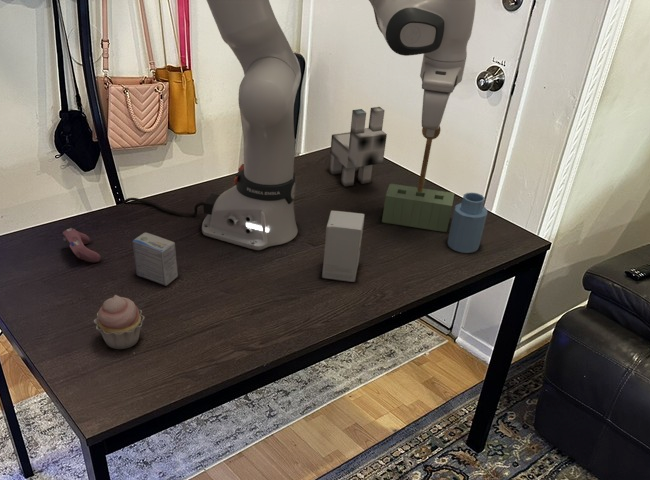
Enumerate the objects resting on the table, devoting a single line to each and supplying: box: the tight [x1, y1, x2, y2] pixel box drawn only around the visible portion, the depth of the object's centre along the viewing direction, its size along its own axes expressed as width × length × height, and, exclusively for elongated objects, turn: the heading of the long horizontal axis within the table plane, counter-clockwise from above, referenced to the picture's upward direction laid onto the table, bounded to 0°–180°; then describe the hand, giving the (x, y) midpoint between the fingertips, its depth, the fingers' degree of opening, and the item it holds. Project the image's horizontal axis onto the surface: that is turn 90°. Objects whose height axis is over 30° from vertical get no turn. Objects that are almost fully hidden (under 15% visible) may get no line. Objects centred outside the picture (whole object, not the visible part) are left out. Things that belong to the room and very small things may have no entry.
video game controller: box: [62, 227, 101, 263], centre depth 154 cm, size 10×5×7 cm, turn 27°
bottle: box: [447, 192, 489, 254], centre depth 159 cm, size 7×7×12 cm
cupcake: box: [93, 294, 145, 350], centre depth 130 cm, size 9×9×10 cm
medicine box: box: [132, 231, 179, 287], centre depth 147 cm, size 8×4×9 cm, turn 59°
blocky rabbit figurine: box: [328, 106, 388, 187], centre depth 181 cm, size 8×18×20 cm, turn 22°
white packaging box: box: [321, 210, 366, 283], centre depth 149 cm, size 7×7×13 cm
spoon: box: [417, 125, 442, 192], centre depth 161 cm, size 4×1×17 cm, turn 75°
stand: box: [381, 183, 455, 233], centre depth 169 cm, size 16×7×7 cm, turn 75°
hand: (430, 134), depth 157 cm, fingers closed on spoon, 1 cm apart
